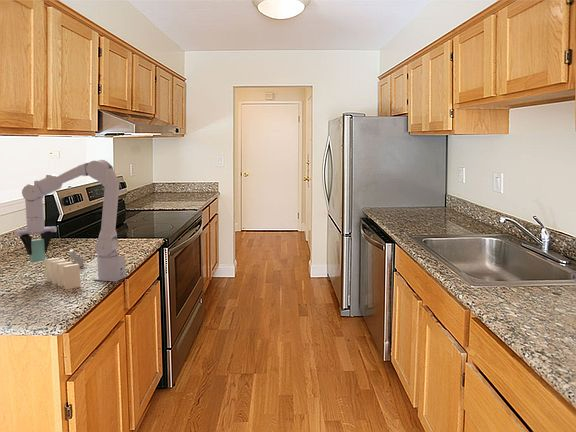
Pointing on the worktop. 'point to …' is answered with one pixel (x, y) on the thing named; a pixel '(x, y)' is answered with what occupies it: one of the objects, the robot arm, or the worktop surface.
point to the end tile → (37, 250)
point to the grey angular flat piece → (76, 257)
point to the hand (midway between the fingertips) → (37, 253)
